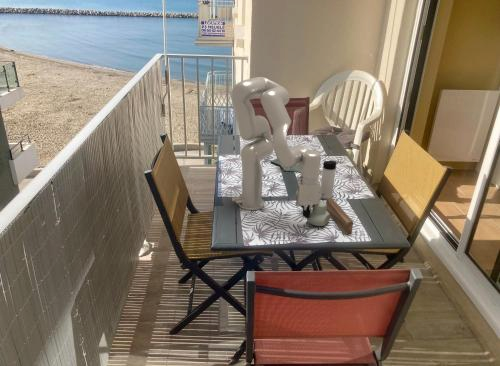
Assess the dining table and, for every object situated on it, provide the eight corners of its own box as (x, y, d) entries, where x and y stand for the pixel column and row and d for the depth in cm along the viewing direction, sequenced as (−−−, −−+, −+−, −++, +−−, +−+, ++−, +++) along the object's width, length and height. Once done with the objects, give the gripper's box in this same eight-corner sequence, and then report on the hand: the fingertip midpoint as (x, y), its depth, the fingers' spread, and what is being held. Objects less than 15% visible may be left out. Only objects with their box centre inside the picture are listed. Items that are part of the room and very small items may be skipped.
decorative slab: (313, 160, 256) (313, 157, 255) (314, 176, 235) (315, 173, 234) (271, 158, 259) (271, 155, 258) (268, 173, 237) (268, 170, 236)
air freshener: (315, 215, 194) (317, 196, 190) (331, 220, 190) (333, 201, 185) (303, 224, 186) (305, 205, 181) (320, 230, 181) (322, 210, 177)
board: (345, 234, 179) (346, 222, 177) (325, 210, 199) (326, 198, 196) (351, 233, 180) (353, 221, 178) (331, 209, 199) (332, 198, 197)
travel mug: (323, 201, 207) (327, 164, 198) (317, 195, 212) (321, 159, 204) (334, 200, 208) (339, 163, 200) (328, 194, 214) (333, 158, 205)
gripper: (295, 184, 171) (292, 222, 179) (329, 181, 174) (325, 219, 182) (290, 176, 178) (287, 214, 186) (322, 174, 181) (318, 211, 189)
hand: (306, 216), depth 184 cm, fingers closed
